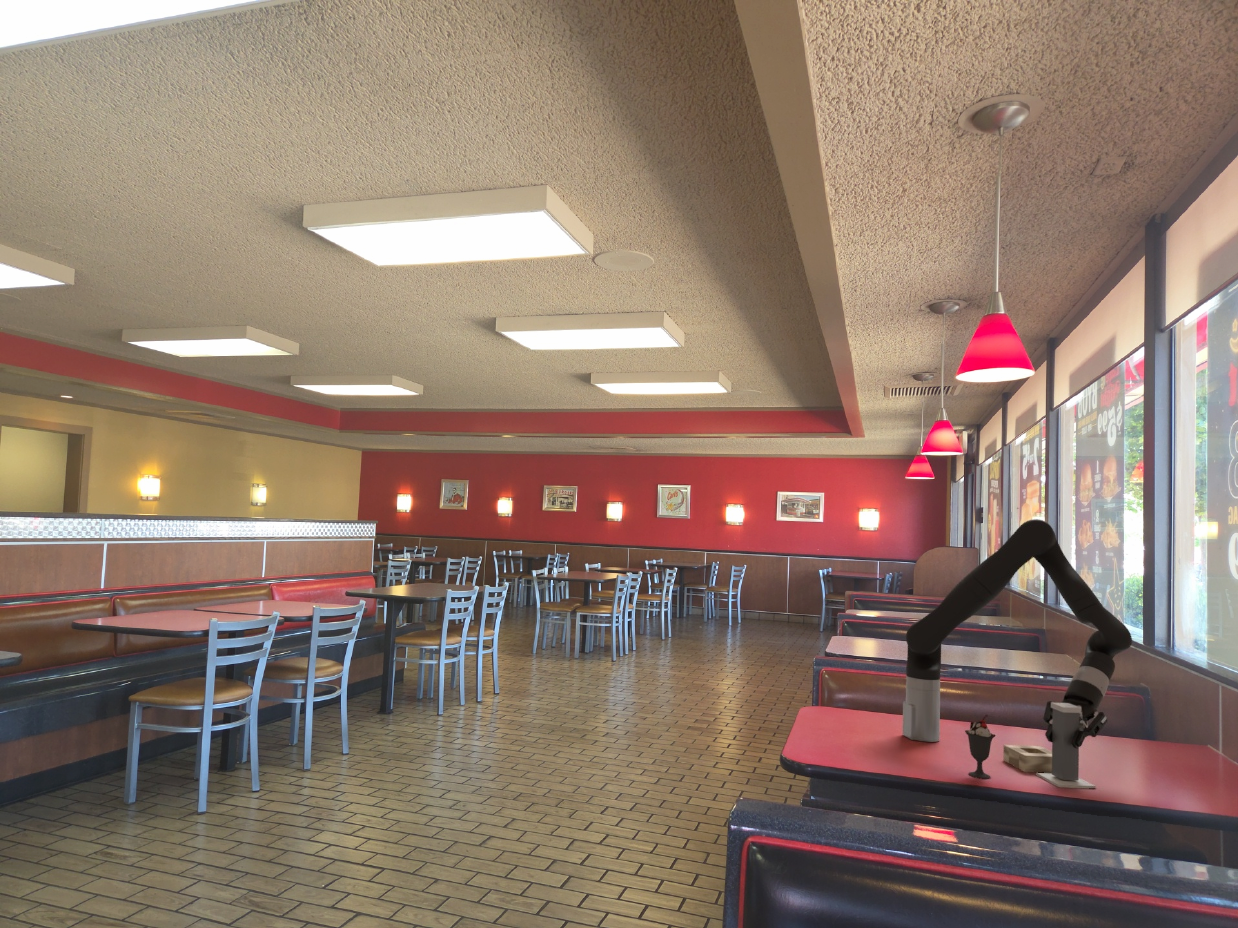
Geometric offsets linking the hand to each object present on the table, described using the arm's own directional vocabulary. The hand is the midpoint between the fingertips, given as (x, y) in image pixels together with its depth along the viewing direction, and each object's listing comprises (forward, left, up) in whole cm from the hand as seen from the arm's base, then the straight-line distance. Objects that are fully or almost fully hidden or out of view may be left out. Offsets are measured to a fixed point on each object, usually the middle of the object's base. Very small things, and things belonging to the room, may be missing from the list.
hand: (1061, 742), depth 186 cm
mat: (+1, +1, -9) cm, 10 cm away
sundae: (-19, +3, -10) cm, 21 cm away
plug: (+2, +1, -8) cm, 9 cm away
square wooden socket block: (0, +13, -9) cm, 16 cm away
